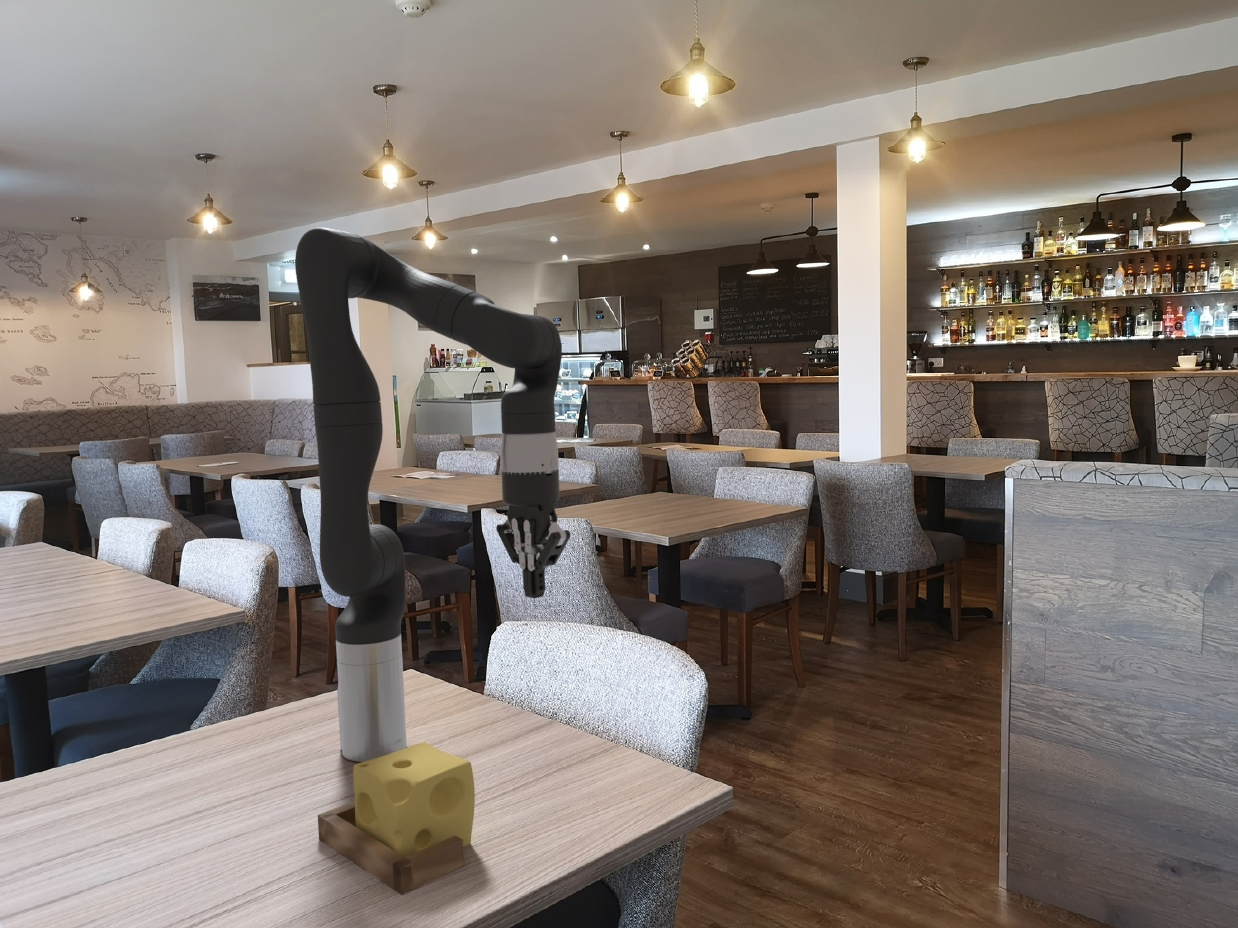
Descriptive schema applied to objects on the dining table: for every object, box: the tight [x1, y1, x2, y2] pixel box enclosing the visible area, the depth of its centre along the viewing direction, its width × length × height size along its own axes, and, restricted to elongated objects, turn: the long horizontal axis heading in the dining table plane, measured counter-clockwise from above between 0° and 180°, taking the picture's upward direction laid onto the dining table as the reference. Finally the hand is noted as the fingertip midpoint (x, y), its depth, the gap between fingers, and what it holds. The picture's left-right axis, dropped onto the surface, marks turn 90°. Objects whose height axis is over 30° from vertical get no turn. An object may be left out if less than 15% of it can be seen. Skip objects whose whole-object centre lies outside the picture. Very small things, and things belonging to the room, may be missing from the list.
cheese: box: [352, 741, 476, 857], centre depth 108 cm, size 10×11×10 cm
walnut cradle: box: [317, 800, 465, 896], centre depth 107 cm, size 18×8×3 cm, turn 45°
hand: (534, 596), depth 124 cm, fingers closed
